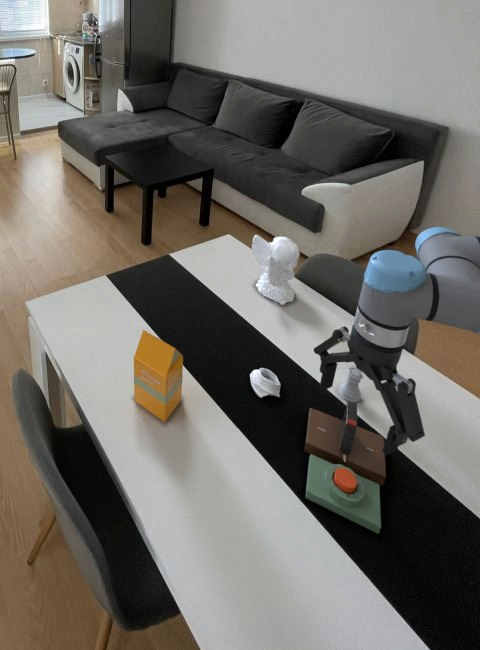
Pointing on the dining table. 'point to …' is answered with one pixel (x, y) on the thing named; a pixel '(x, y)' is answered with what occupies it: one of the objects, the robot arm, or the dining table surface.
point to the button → (345, 480)
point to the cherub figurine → (276, 267)
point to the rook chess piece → (351, 385)
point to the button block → (344, 494)
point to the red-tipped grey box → (348, 427)
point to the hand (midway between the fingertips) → (355, 416)
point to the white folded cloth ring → (265, 383)
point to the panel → (364, 451)
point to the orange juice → (157, 376)
